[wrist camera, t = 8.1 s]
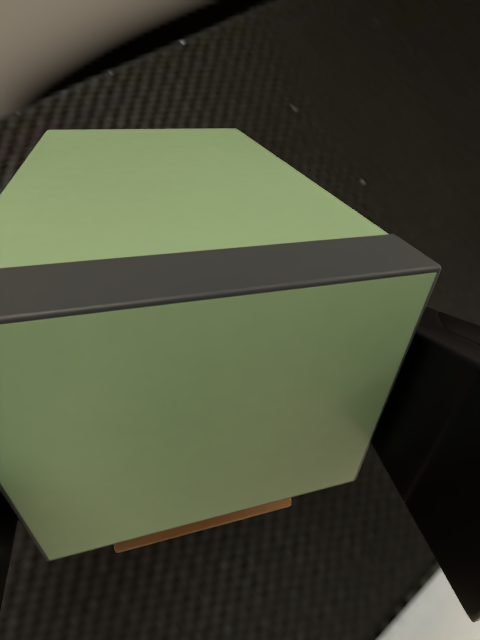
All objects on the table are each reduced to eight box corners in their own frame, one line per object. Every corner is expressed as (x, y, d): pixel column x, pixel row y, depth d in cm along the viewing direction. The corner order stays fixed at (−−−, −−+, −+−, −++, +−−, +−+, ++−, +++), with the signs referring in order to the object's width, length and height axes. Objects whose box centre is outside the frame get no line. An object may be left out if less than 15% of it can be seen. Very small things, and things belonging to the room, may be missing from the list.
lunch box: (263, 434, 16) (514, 559, 5) (103, 468, 14) (-87, 777, 3) (220, 182, 17) (336, -178, 6) (71, 189, 16) (-137, -277, 5)
